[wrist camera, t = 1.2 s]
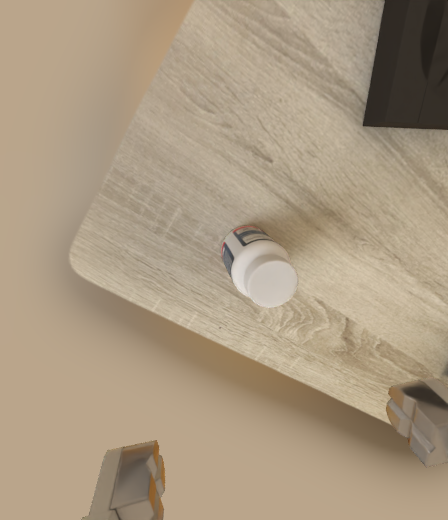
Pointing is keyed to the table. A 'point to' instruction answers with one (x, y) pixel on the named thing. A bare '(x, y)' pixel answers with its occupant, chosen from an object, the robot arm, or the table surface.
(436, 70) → the socket pad
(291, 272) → the pill bottle
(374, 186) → the table surface
